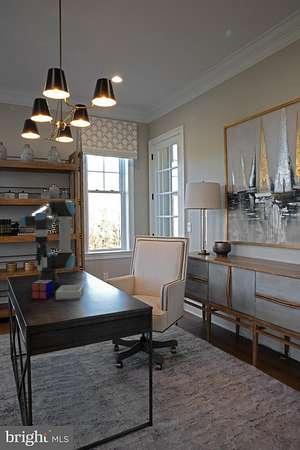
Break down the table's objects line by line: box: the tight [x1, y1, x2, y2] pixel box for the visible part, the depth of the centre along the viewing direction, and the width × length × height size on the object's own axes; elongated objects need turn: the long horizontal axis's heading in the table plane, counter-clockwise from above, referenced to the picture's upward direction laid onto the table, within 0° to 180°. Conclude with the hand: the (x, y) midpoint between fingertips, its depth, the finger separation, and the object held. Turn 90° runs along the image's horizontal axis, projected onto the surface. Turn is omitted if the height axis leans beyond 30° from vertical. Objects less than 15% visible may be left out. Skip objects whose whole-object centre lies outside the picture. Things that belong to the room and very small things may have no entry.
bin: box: [55, 284, 85, 301], centre depth 218 cm, size 19×15×5 cm
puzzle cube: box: [31, 279, 55, 300], centre depth 217 cm, size 10×10×10 cm
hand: (42, 268), depth 216 cm, fingers open, 13 cm apart
